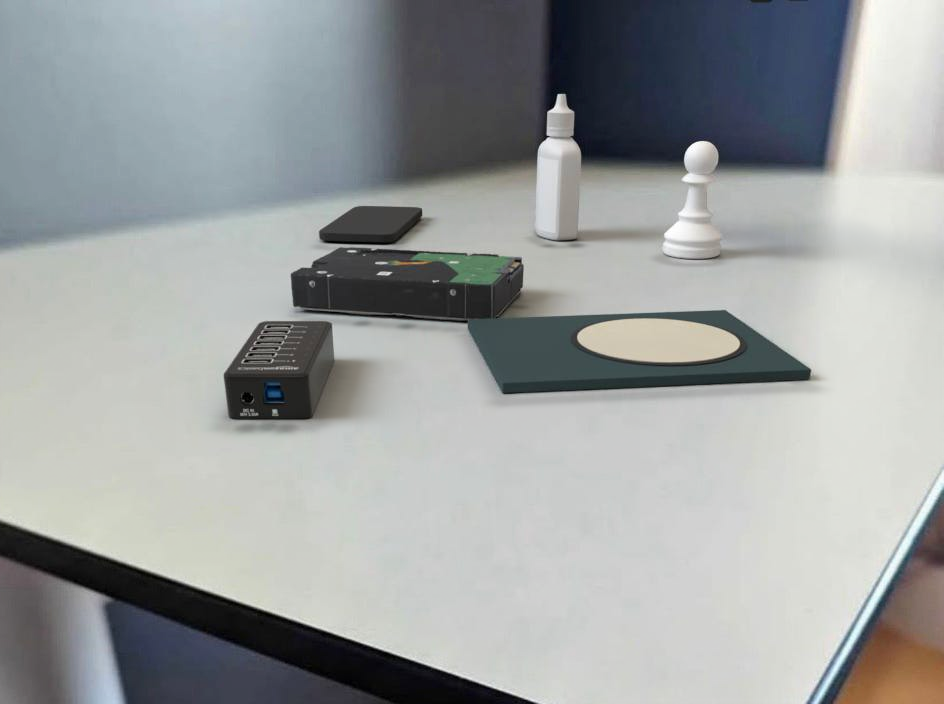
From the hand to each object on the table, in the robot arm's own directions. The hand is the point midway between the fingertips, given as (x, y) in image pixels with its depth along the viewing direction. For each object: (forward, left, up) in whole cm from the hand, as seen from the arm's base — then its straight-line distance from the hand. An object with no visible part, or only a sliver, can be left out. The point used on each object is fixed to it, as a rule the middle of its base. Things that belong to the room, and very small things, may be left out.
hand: (777, 1), depth 84 cm
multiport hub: (+41, +36, -19) cm, 58 cm away
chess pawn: (+6, +3, -19) cm, 20 cm away
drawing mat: (+20, +32, -19) cm, 42 cm away
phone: (+33, -13, -19) cm, 40 cm away
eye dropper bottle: (+16, -7, -19) cm, 26 cm away
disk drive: (+32, +17, -19) cm, 41 cm away
